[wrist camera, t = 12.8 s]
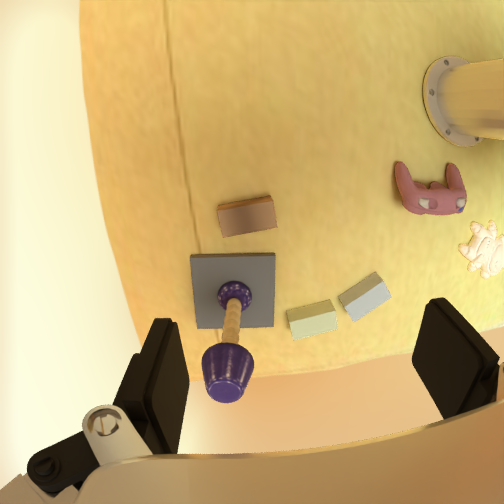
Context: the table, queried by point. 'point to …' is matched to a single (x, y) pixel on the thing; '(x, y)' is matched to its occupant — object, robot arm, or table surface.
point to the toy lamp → (229, 349)
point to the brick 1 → (247, 216)
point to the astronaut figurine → (484, 250)
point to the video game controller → (431, 193)
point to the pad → (233, 269)
